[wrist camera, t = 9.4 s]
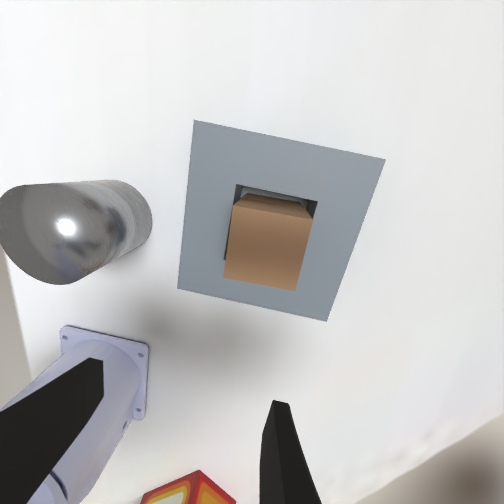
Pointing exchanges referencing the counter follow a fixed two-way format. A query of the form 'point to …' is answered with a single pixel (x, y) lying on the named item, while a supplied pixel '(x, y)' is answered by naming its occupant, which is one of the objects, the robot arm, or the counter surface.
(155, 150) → the counter surface
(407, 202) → the counter surface
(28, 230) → the round peg
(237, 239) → the square peg
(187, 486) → the baking soda box
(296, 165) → the socket block
